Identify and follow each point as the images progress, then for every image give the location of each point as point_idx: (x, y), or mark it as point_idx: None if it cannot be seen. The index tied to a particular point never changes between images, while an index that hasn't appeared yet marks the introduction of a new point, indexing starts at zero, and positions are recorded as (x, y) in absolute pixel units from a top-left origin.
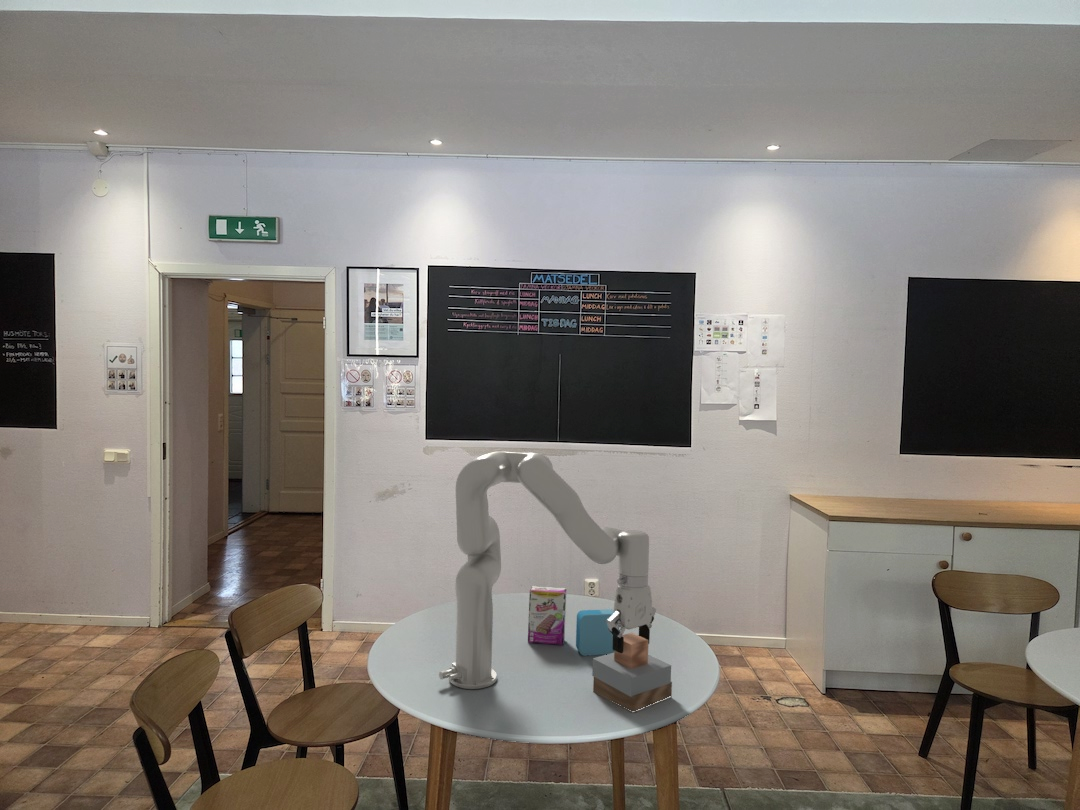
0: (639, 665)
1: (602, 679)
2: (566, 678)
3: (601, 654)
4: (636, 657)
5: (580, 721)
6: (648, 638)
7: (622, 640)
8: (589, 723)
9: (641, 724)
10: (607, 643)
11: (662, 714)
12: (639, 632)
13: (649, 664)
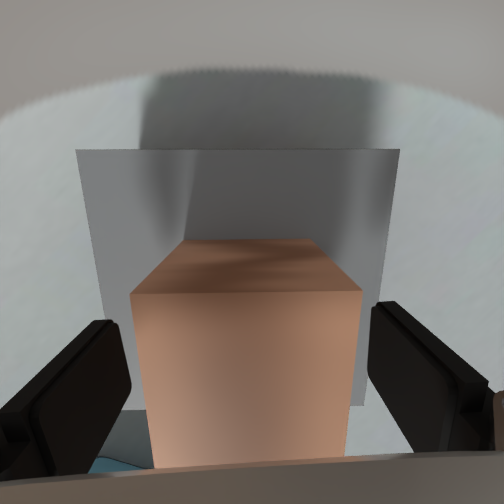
0: (245, 239)
1: None
2: None
3: (141, 468)
4: (275, 253)
5: (490, 207)
6: (81, 343)
7: (458, 358)
8: (481, 182)
9: (364, 77)
10: None
11: (252, 88)
12: (99, 442)
13: (183, 226)
